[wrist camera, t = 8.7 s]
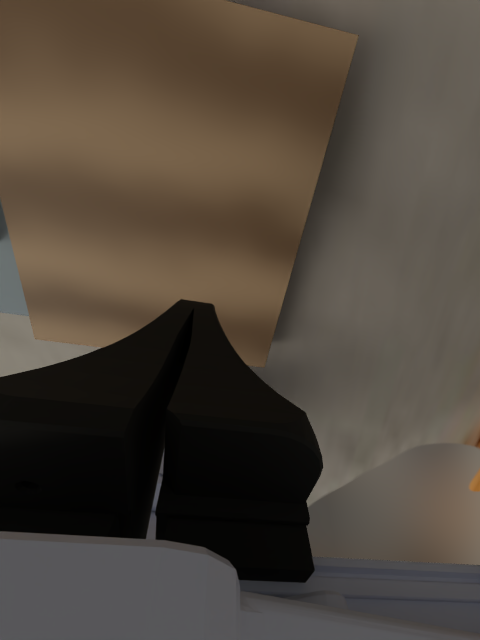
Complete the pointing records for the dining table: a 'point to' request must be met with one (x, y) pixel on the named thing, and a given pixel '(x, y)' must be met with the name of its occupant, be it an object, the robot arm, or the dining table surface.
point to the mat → (9, 275)
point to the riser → (161, 159)
